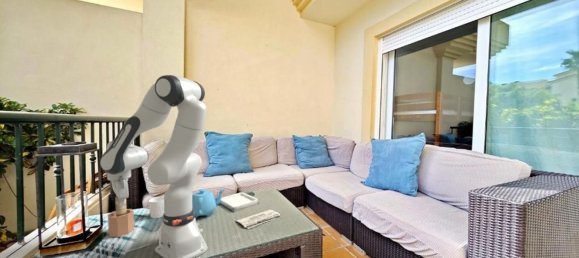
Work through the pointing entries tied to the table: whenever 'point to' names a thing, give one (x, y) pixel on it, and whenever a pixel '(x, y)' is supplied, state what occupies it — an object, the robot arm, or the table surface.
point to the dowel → (120, 208)
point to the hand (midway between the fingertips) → (120, 203)
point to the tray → (238, 201)
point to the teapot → (205, 202)
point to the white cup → (156, 207)
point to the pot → (120, 223)
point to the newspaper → (258, 218)
